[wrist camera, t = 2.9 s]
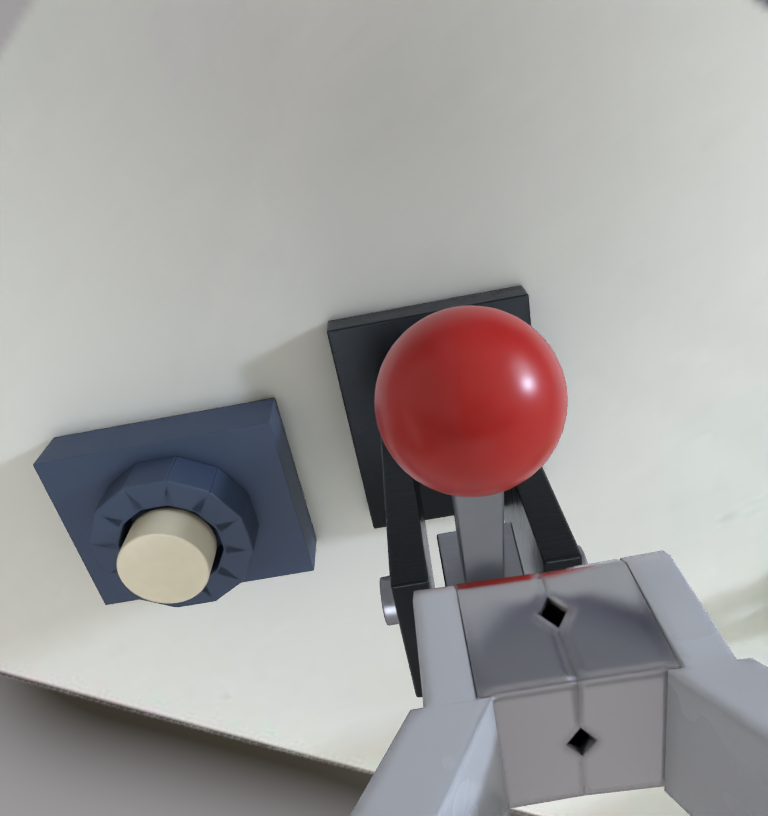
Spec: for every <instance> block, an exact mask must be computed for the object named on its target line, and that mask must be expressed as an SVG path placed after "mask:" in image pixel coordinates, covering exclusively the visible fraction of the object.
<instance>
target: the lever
mask: <svg viewBox="0 0 768 816" xmlns="http://www.w3.org/2000/svg"><path fill="white" fill-rule="evenodd" d="M567 402H568V397H567V387H566V382H565V378H564V374H563V370H562V368H561V366H560V363H559V361H558V359H557V357H556V355H555V353H554V351H553V350H552V349H551V347H550V346H549V344H548V343H547V342H546V340H545V339H544V338H543V337H542V336H541V335H540V334H539V333H538V332H537V331H536V330H535V329H534V328H533V327H532V326H530V325H529V324H527V323H526V322H524V321H523V320H521V319H520V318H518V317H516V316H514V315H512V314H509V313H507V312H504V311H502V310H499V309H495V308H491V307H485V306H472V305H470V306H457V307H451V308H447V309H443V310H440V311H437V312H435V313H432V314H430V315H428V316H426V317H424V318H423V319H421V320H419V321H418V322H416V323H415V324H414V325H412V326H411V327H409V328H408V329H407V330H406V331H405V332H404V333H403V334H402V335H401V336H400V337H399V338H398V339H397V341H396V342H395V343H394V344H393V345H392V347H391V349H390V350H389V352H388V353H387V355H386V357H385V359H384V361H383V363H382V365H381V368H380V371H379V374H378V378H377V382H376V388H375V398H374V404H375V415H376V421H377V425H378V429H379V432H380V434H381V437H382V439H383V442H384V444H385V446H386V448H387V449H388V451H389V453H390V454H391V456H392V457H393V459H394V460H395V461H396V462H397V463H398V465H399V466H400V467H401V468H402V469H403V470H404V471H405V472H406V473H408V474H409V475H410V476H411V477H412V478H414V479H415V480H416V481H418V482H420V483H421V484H423V485H425V486H427V487H429V488H431V489H433V490H436V491H439V492H441V493H444V494H448V495H452V502H453V510H454V517H455V524H456V531H454V532H448V533H442V534H438V535H437V540H438V546H439V552H440V558H441V564H442V569H443V575H444V581H445V587H448V586H455V588H456V584H462V583H469V582H476V581H484V580H491V579H498V578H505V577H513V576H520V575H525V574H524V570H523V567H522V563H521V559H520V555H519V551H518V547H517V543H516V539H515V535H514V531H513V527H512V524H511V522H508V523H504V491H506V490H509V489H511V488H513V487H515V486H517V485H519V484H520V483H522V482H524V481H525V480H527V479H528V478H530V477H531V476H532V475H533V474H534V473H536V472H537V471H538V470H539V469H540V468H541V467H542V466H543V465H544V463H545V462H546V461H547V460H548V458H549V457H550V455H551V454H552V452H553V451H554V449H555V448H556V446H557V444H558V441H559V439H560V437H561V434H562V432H563V428H564V424H565V420H566V416H567ZM456 592H457V588H456ZM457 597H458V595H457ZM458 603H459V601H458ZM459 608H460V607H459Z"/></svg>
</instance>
